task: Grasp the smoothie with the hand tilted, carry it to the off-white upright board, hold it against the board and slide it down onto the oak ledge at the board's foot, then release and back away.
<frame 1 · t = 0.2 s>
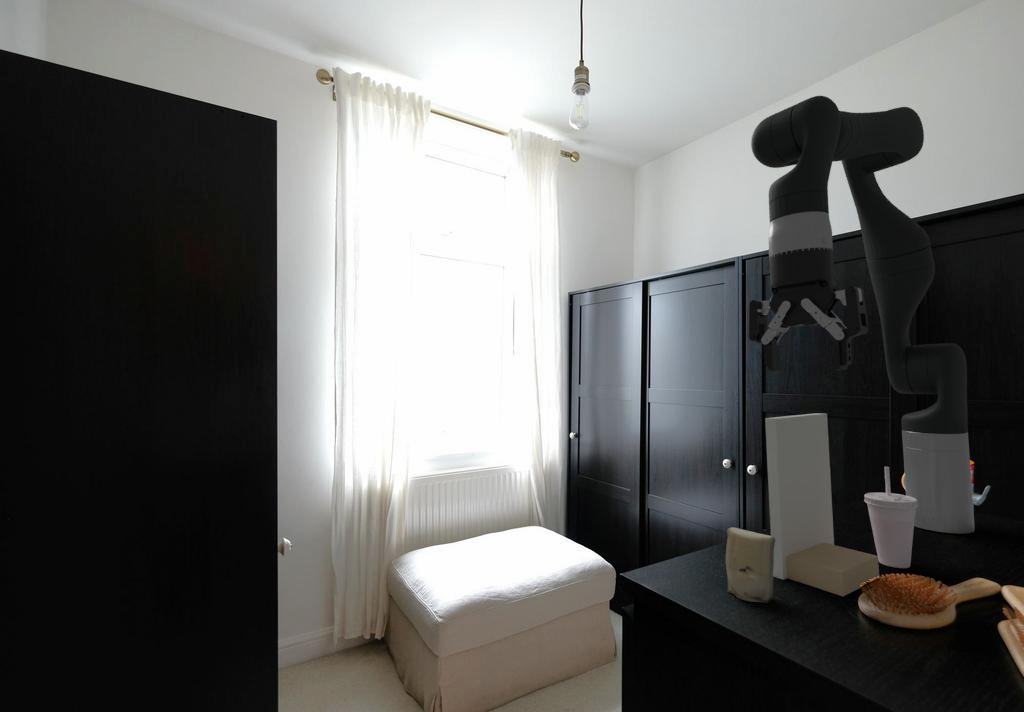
hand: (805, 370, 67), 29 cm above the dresser top, tool pointing down, fingers open, 8 cm apart
wall board: (805, 567, 72), on the dresser top
smoothie: (894, 564, 72), on the dresser top
cream rounded block: (752, 597, 63), on the dresser top
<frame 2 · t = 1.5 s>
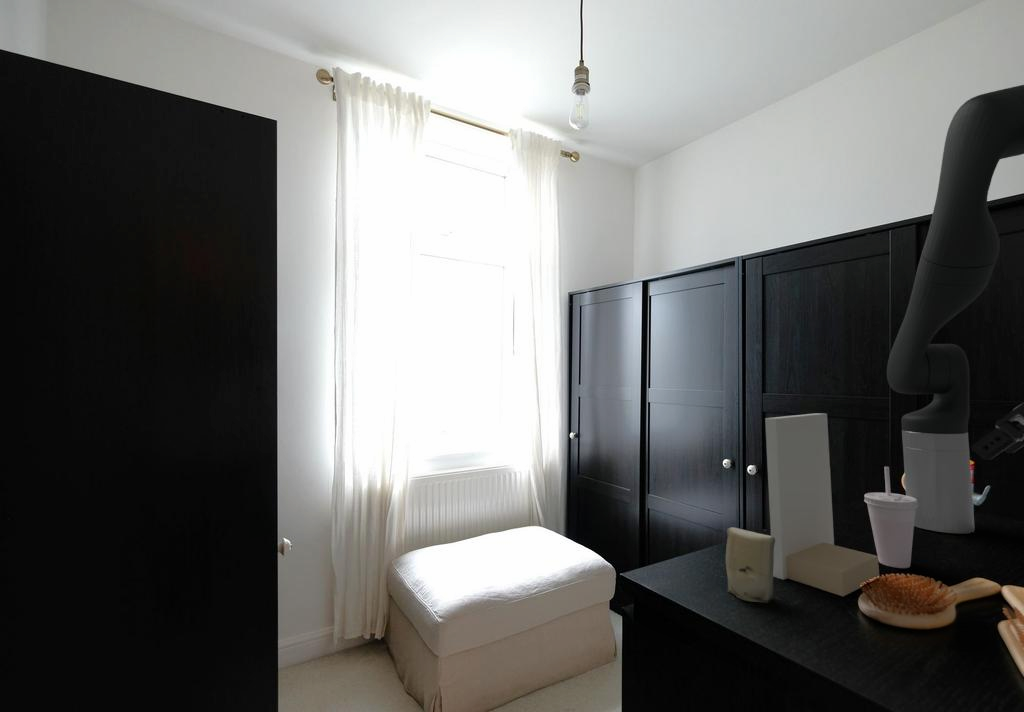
hand: (990, 451, 64), 18 cm above the dresser top, tool tilted 45°, fingers open, 8 cm apart
nothing on the dresser top moved.
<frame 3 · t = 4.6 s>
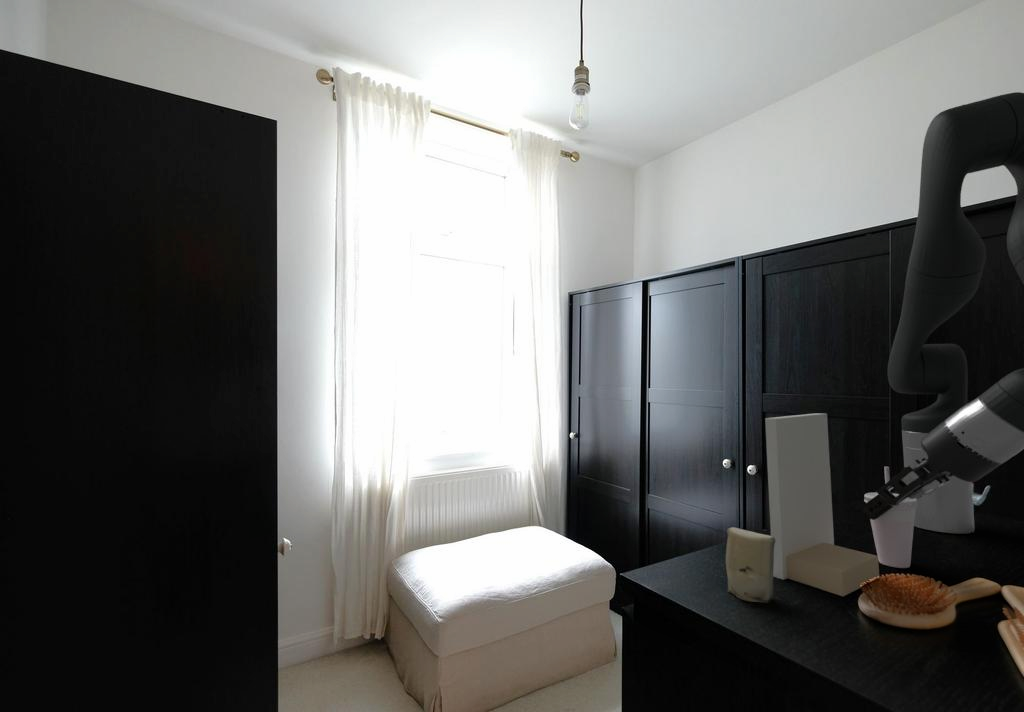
hand: (878, 510, 74), 7 cm above the dresser top, tool tilted 45°, fingers closed on smoothie, 6 cm apart
smoothie: (894, 564, 72), on the dresser top, touching gripper
everything else where it was.
when the fingers open (11 cm above the dresser top, at t = 10.4 s): smoothie stays where it is, resting on wall board.
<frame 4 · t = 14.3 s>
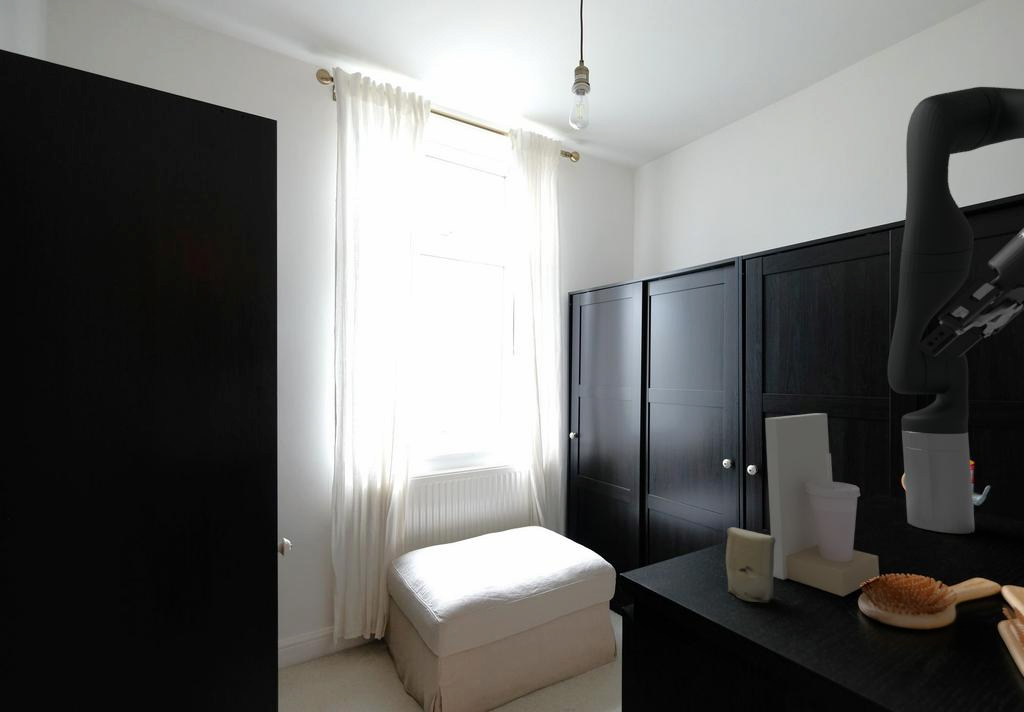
hand: (937, 352, 66), 31 cm above the dresser top, tool tilted 45°, fingers open, 8 cm apart
smoothie: (835, 558, 67), point 3 cm above the dresser top, touching wall board
everything else where it was.
at the end: smoothie inside the target area (0.2 cm from its centre), point 2.8 cm above the dresser top; smoothie tilted 0°; the gripper is holding nothing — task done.
